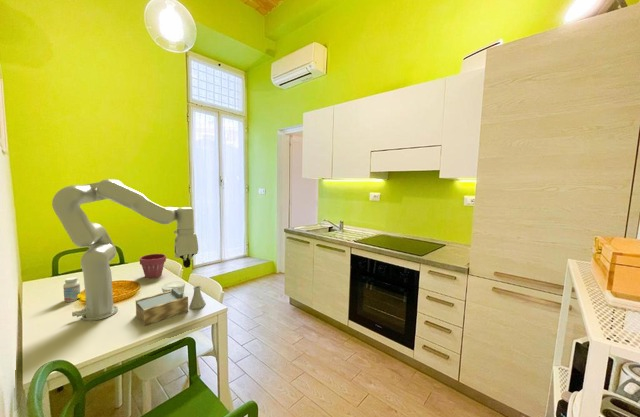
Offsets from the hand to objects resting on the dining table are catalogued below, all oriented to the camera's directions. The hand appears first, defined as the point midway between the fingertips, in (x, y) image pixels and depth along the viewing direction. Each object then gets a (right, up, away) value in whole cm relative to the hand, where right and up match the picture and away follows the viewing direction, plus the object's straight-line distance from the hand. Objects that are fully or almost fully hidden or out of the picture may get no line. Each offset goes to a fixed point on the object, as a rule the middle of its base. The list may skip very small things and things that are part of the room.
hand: (186, 266), depth 131 cm
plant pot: (-40, -14, +36) cm, 56 cm away
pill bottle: (-59, -17, +1) cm, 62 cm away
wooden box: (-6, -20, -10) cm, 23 cm away
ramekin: (-13, -18, +10) cm, 24 cm away
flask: (+6, -20, -2) cm, 21 cm away
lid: (-6, -14, -10) cm, 18 cm away
